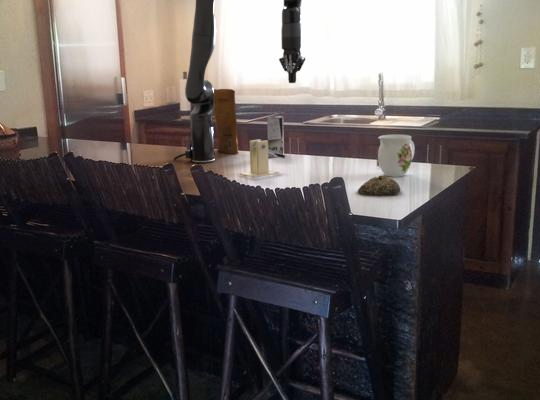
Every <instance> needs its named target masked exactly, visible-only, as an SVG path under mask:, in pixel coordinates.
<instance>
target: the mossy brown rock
mask: <svg viewBox="0 0 540 400" xmlns="http://www.w3.org/2000/svg"><path fill="white" fill-rule="evenodd" d="M401 189H402V188H401V187H400V184H399V183H398V182H397V181H396V180H395V179H393V178H392V177H390V176H386V175H378V177H376V176H373V177H371V178H370V179H369V180H367V181H365V182H364V183H363V184H362V185H360V187H359V188H358V189H357V193H358V194H360V195H368V196H396V195H399V193H401Z"/></svg>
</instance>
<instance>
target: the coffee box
mask: <svg viewBox="0 0 540 400" xmlns="http://www.w3.org/2000/svg"><path fill="white" fill-rule="evenodd" d="M266 120H267V121H266V122H267V125H266V126H267V141H268V149H270V150H272V151H274V152H276V153H278V154H282V155H284V154H285V135H284V115H273V116H268V117H267V118H266ZM268 158H275V157H274V156H272V154H271V153H269V152H268Z"/></svg>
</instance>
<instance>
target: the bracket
mask: <svg viewBox="0 0 540 400" xmlns="http://www.w3.org/2000/svg"><path fill="white" fill-rule="evenodd" d="M255 141H259V142H256V147H257V149H256V148H254V147H253V146H254V143H255ZM249 164H250V165H249V166H250V167H249V169H250V171H243V172H240V173H239V174H240V175H243V176H247V177H251V178H259V177H264V176H269V175H276V174H279V173H280V172H279V171H276V170H272V169H269V166H270V165H269V157H268V139H267V140H262V139H253V140H249Z"/></svg>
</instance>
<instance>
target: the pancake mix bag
mask: <svg viewBox="0 0 540 400" xmlns="http://www.w3.org/2000/svg"><path fill="white" fill-rule="evenodd" d="M213 89H214V113H213V118H214V119H213V120H214V122H215V127H216V133H217V142H218V146H217V152H220V153H225V154H228V155H236V154H239V146H238V133H237V130H238V129H237V128H238V127H237V125H238V124H237V123H238V122H237V110H236V109H237V108H236V91H235V90H234V89H232V88H213Z"/></svg>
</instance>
